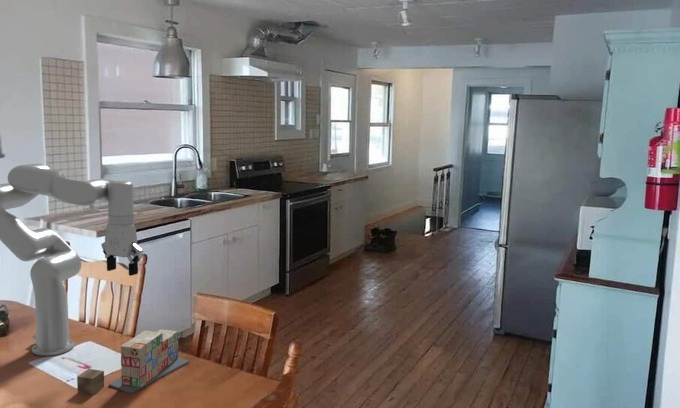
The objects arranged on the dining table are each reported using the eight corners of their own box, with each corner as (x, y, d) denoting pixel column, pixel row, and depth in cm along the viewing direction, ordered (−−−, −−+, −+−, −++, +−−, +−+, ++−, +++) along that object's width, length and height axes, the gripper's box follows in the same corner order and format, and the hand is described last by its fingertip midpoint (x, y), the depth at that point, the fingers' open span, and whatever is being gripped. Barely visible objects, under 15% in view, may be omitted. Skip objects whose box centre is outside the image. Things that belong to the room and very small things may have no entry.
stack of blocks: (161, 355, 180) (160, 319, 178) (178, 358, 178) (178, 322, 176) (121, 385, 159) (120, 345, 157) (140, 388, 158) (139, 347, 156)
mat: (108, 386, 160) (108, 384, 160) (168, 356, 181) (168, 354, 181) (131, 393, 156) (131, 391, 156) (189, 362, 177) (189, 360, 177)
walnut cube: (77, 393, 155) (77, 376, 154) (89, 384, 160) (88, 368, 159) (93, 395, 154) (92, 378, 154) (104, 387, 159) (103, 370, 158)
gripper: (92, 218, 174) (93, 270, 176) (131, 224, 166) (132, 279, 169) (111, 215, 181) (112, 265, 183) (150, 221, 173) (151, 273, 176)
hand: (122, 272), depth 176 cm, fingers open, 9 cm apart
